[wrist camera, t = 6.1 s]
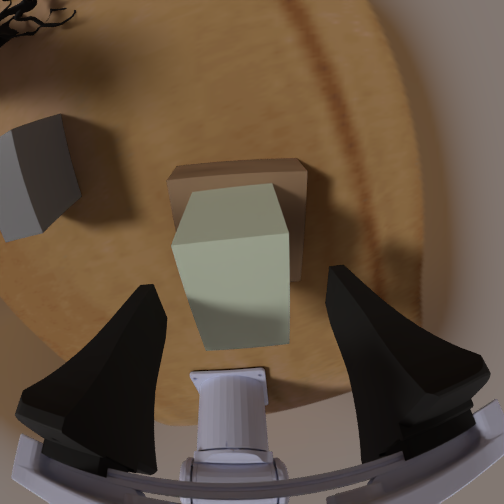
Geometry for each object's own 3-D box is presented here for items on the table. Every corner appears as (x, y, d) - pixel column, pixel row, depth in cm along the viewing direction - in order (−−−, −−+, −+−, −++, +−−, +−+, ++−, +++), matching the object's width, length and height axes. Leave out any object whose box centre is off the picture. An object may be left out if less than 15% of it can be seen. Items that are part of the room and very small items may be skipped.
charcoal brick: (82, 195, 15) (43, 233, 11) (44, 206, 15) (5, 242, 11) (61, 113, 12) (11, 129, 8) (23, 132, 12) (-25, 154, 8)
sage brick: (277, 277, 16) (289, 343, 12) (212, 284, 17) (206, 350, 12) (272, 183, 13) (288, 233, 9) (192, 192, 13) (171, 245, 9)
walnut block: (292, 253, 19) (300, 281, 17) (194, 260, 19) (188, 287, 17) (295, 156, 15) (307, 171, 13) (178, 164, 15) (166, 180, 13)
